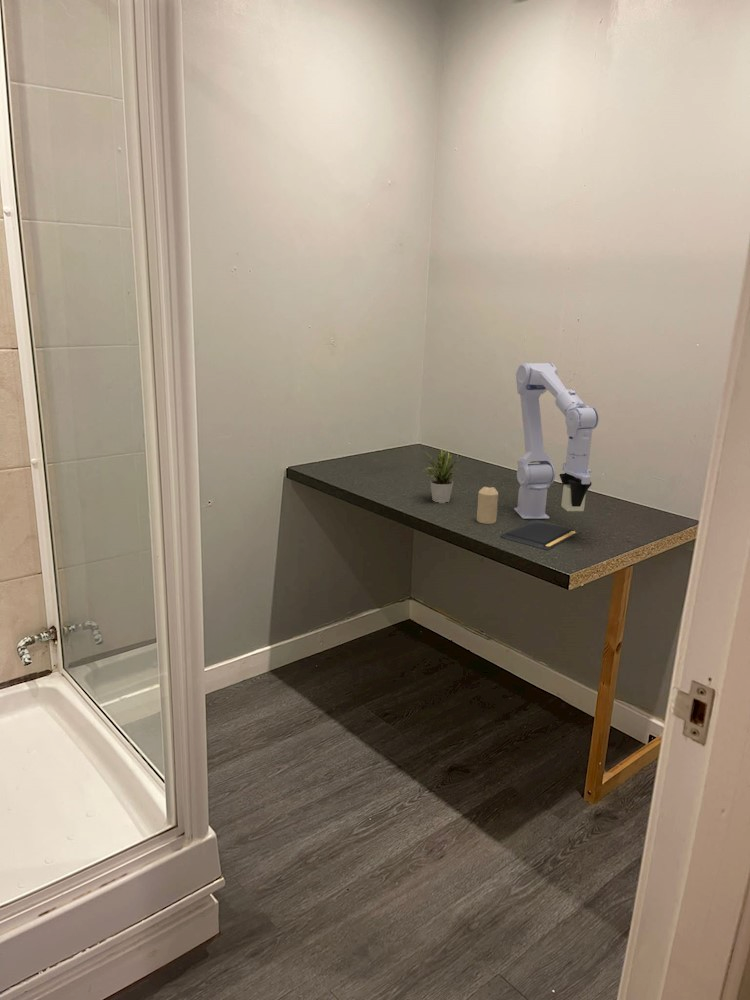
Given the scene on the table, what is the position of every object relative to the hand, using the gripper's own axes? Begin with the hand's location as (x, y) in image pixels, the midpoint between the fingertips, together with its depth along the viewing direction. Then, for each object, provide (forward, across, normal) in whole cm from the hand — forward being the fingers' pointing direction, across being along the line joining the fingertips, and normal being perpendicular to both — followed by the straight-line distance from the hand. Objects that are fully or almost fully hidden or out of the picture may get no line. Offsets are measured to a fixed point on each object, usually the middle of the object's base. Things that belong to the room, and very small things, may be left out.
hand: (572, 503), depth 190 cm
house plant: (+10, +35, +29) cm, 46 cm away
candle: (+10, +14, +19) cm, 25 cm away
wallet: (+10, +2, +7) cm, 13 cm away
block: (+2, 0, 0) cm, 2 cm away
